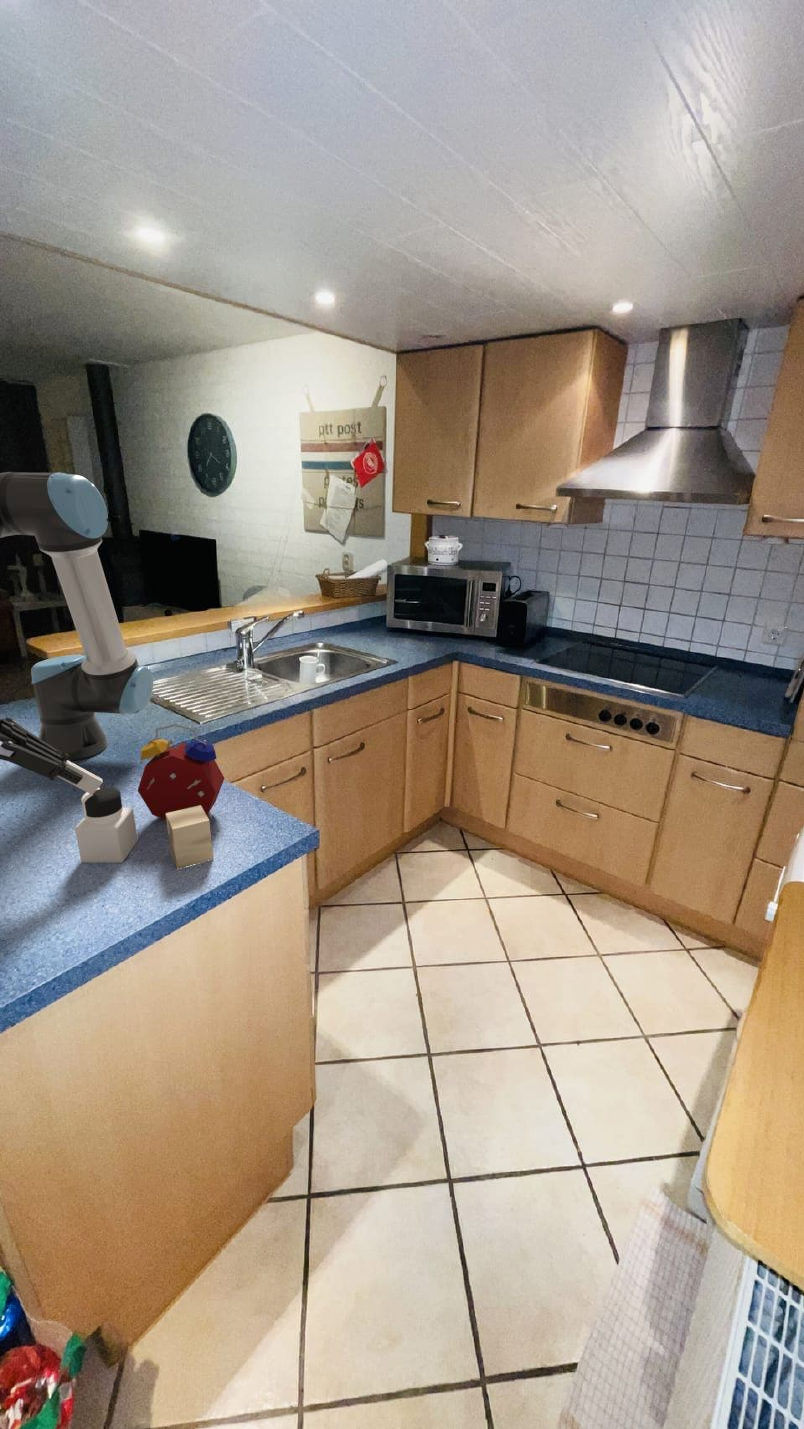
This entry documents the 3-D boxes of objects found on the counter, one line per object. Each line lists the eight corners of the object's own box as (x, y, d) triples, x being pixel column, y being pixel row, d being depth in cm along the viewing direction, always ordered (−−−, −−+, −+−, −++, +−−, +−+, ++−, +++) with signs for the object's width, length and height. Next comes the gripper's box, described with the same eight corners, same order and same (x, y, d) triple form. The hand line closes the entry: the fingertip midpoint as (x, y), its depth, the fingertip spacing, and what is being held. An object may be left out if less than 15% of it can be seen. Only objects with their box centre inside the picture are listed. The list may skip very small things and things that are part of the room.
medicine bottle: (138, 840, 108) (129, 782, 104) (122, 863, 101) (112, 802, 97) (99, 840, 108) (88, 782, 104) (80, 863, 101) (68, 802, 97)
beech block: (170, 852, 105) (165, 813, 102) (204, 843, 108) (200, 805, 105) (177, 869, 100) (172, 829, 97) (213, 859, 103) (209, 820, 100)
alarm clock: (227, 810, 119) (219, 718, 112) (215, 833, 111) (205, 736, 104) (155, 808, 119) (142, 716, 112) (136, 831, 111) (122, 734, 104)
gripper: (-60, 716, 91) (79, 788, 105) (-71, 745, 80) (85, 821, 94) (-26, 679, 92) (107, 755, 105) (-33, 703, 81) (116, 784, 95)
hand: (97, 786), depth 100 cm, fingers closed
